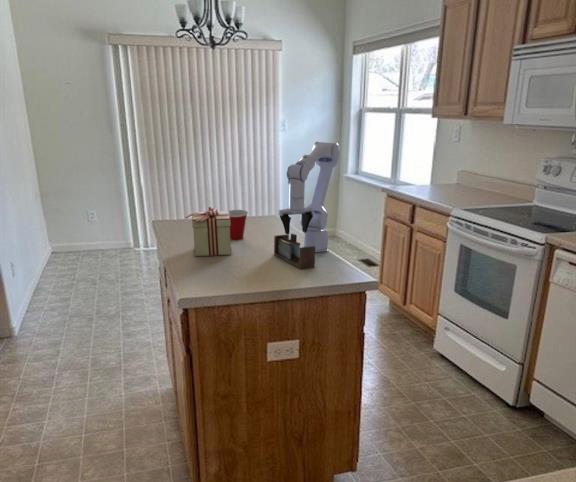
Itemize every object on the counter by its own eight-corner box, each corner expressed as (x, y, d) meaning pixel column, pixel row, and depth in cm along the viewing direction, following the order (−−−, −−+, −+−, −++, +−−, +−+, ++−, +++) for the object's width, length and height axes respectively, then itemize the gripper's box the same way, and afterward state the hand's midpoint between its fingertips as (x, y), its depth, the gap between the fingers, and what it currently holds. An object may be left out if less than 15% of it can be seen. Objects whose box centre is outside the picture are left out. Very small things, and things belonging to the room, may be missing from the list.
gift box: (185, 247, 223) (183, 206, 217) (229, 246, 227) (228, 205, 221) (187, 258, 208) (185, 214, 201) (234, 256, 212) (233, 213, 205)
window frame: (287, 253, 218) (287, 234, 215) (314, 267, 200) (315, 246, 197) (274, 255, 215) (274, 235, 212) (300, 269, 197) (301, 248, 194)
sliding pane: (288, 253, 214) (289, 231, 211) (300, 258, 207) (300, 236, 203) (286, 253, 214) (287, 231, 210) (297, 258, 206) (298, 236, 203)
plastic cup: (219, 239, 237) (219, 212, 232) (231, 234, 246) (230, 208, 242) (241, 242, 233) (241, 215, 229) (252, 237, 242) (252, 210, 238)
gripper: (284, 200, 195) (283, 236, 200) (318, 198, 201) (317, 233, 206) (276, 197, 201) (275, 232, 206) (309, 195, 207) (308, 229, 212)
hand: (295, 232), depth 207 cm, fingers open, 7 cm apart
